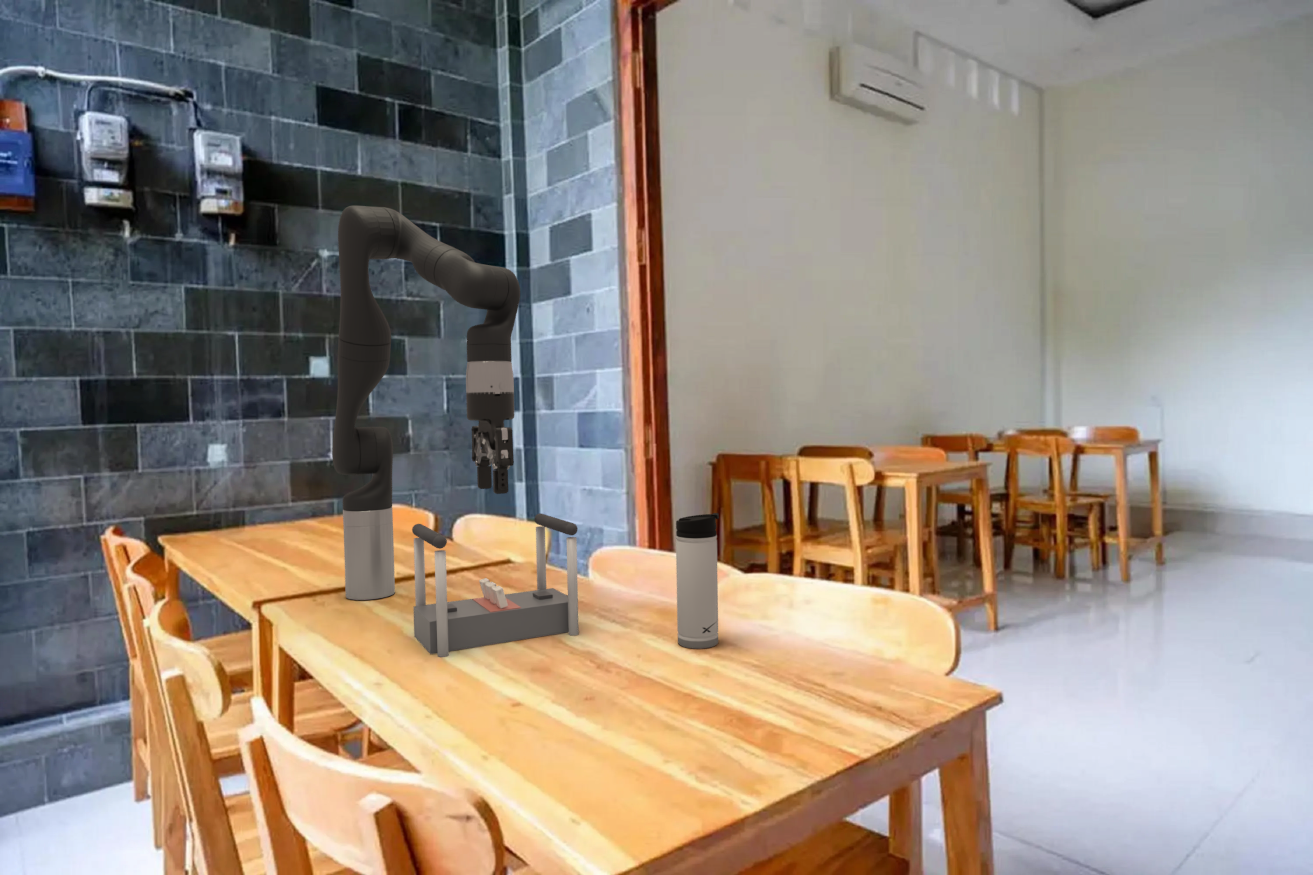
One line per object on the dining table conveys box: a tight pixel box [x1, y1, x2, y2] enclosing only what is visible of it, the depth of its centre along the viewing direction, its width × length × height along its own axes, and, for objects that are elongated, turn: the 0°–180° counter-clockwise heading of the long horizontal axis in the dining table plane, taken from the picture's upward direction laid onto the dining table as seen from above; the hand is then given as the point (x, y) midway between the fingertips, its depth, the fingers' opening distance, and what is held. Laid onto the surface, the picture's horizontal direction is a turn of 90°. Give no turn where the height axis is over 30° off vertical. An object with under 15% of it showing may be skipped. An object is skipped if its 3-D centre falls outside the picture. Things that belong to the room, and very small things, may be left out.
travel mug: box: [675, 512, 720, 650], centre depth 125 cm, size 6×7×20 cm
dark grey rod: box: [534, 513, 578, 536], centre depth 137 cm, size 16×2×2 cm, turn 29°
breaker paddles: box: [478, 577, 508, 608], centre depth 132 cm, size 9×1×3 cm, turn 29°
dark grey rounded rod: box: [411, 523, 448, 550], centre depth 127 cm, size 16×2×2 cm, turn 29°
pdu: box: [412, 525, 580, 658], centre depth 132 cm, size 16×24×16 cm, turn 119°
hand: (492, 490), depth 132 cm, fingers open, 8 cm apart
